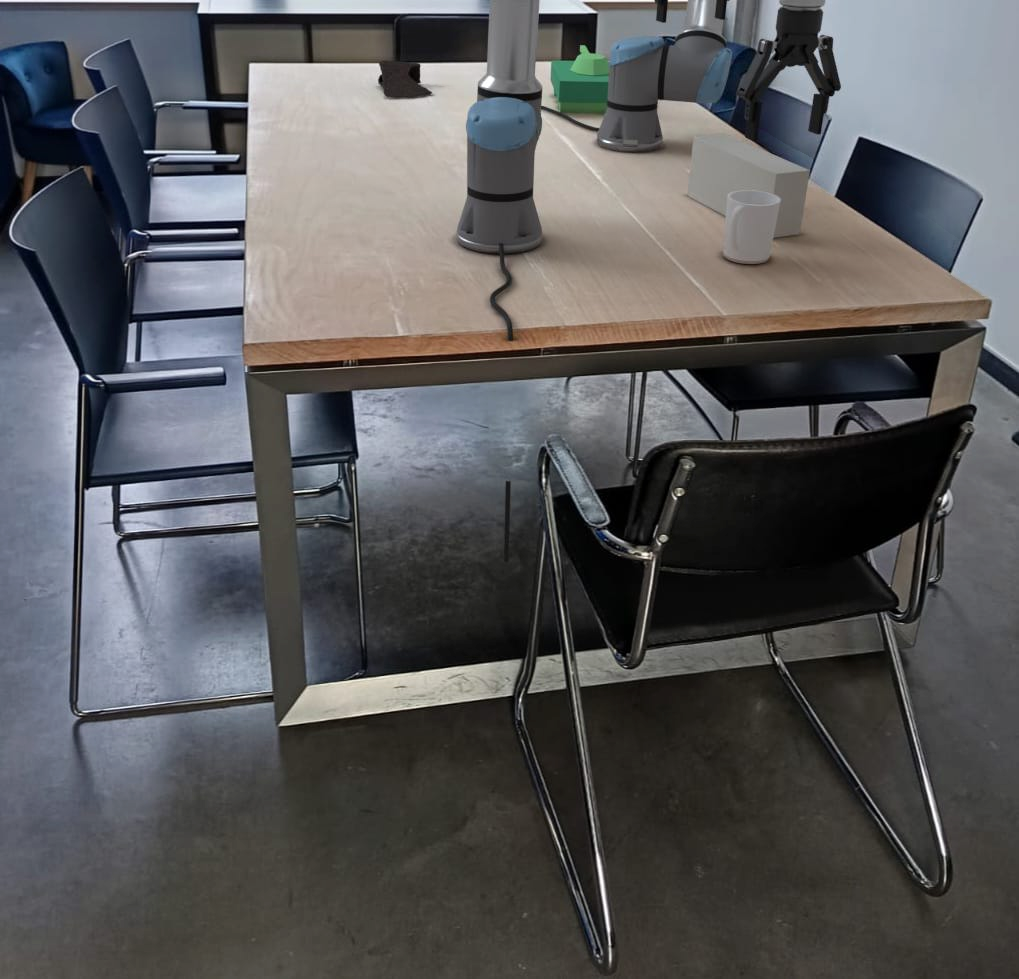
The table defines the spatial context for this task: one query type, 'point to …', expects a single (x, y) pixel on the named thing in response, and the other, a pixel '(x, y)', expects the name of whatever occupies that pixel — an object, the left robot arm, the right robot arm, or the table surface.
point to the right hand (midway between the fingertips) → (690, 20)
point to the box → (746, 178)
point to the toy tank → (581, 83)
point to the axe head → (401, 79)
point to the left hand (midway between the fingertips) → (783, 136)
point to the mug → (750, 226)
